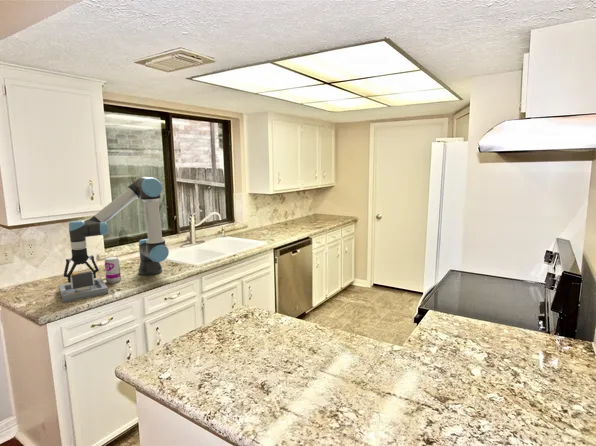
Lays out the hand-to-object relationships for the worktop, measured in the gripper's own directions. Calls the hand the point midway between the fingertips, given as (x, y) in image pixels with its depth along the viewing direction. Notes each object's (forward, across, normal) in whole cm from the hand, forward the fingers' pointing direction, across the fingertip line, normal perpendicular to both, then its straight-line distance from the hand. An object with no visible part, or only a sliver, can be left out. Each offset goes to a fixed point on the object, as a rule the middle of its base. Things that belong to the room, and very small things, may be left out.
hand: (82, 285), depth 211 cm
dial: (+2, 0, 0) cm, 2 cm away
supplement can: (+4, -18, -11) cm, 21 cm away
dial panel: (+4, 0, 0) cm, 4 cm away
